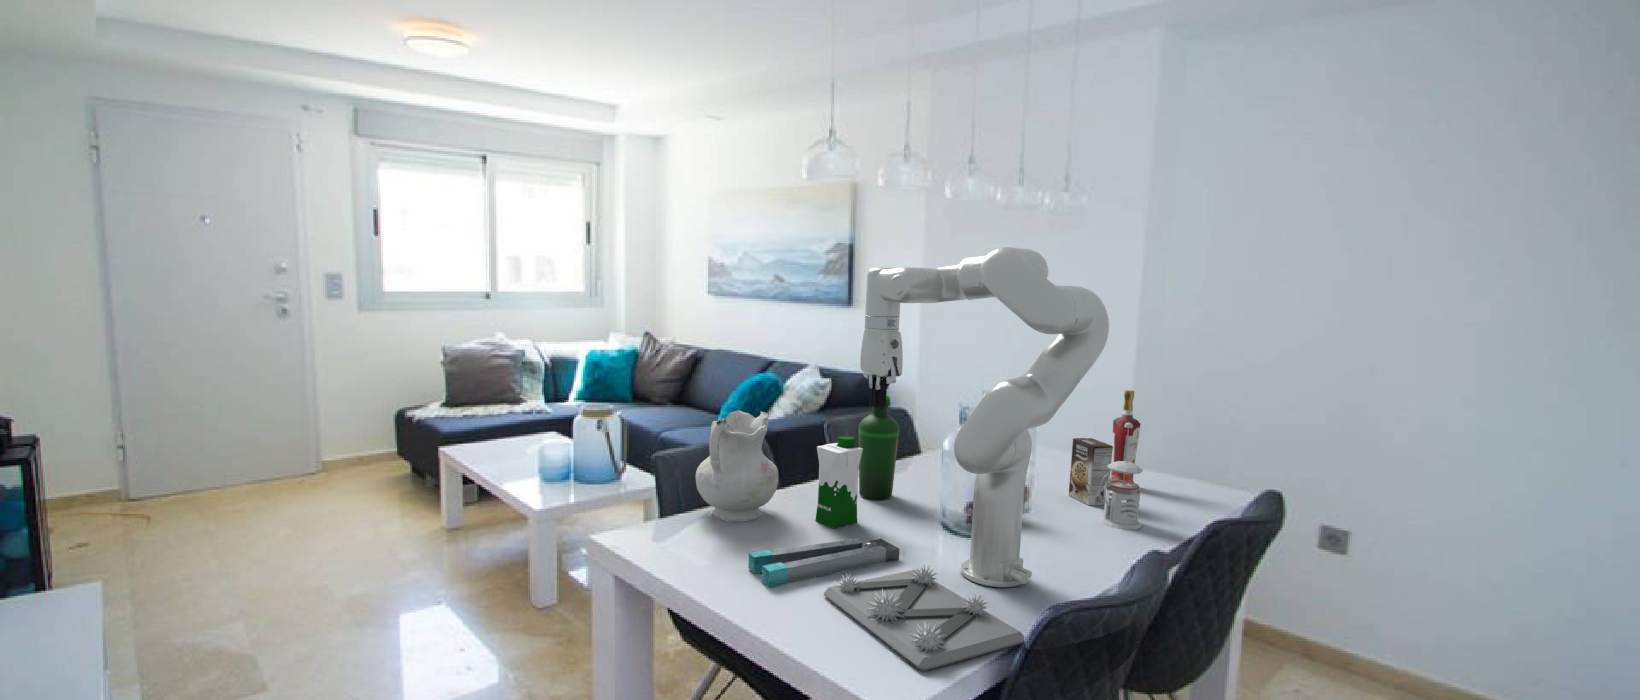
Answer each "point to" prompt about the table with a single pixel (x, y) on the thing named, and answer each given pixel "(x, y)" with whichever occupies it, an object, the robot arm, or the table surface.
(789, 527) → the table surface
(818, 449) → the milk carton
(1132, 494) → the french press
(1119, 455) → the liquor
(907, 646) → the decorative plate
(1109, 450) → the cookie box
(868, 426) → the bottle
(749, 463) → the ceramic pitcher
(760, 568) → the tongs arm
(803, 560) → the base
